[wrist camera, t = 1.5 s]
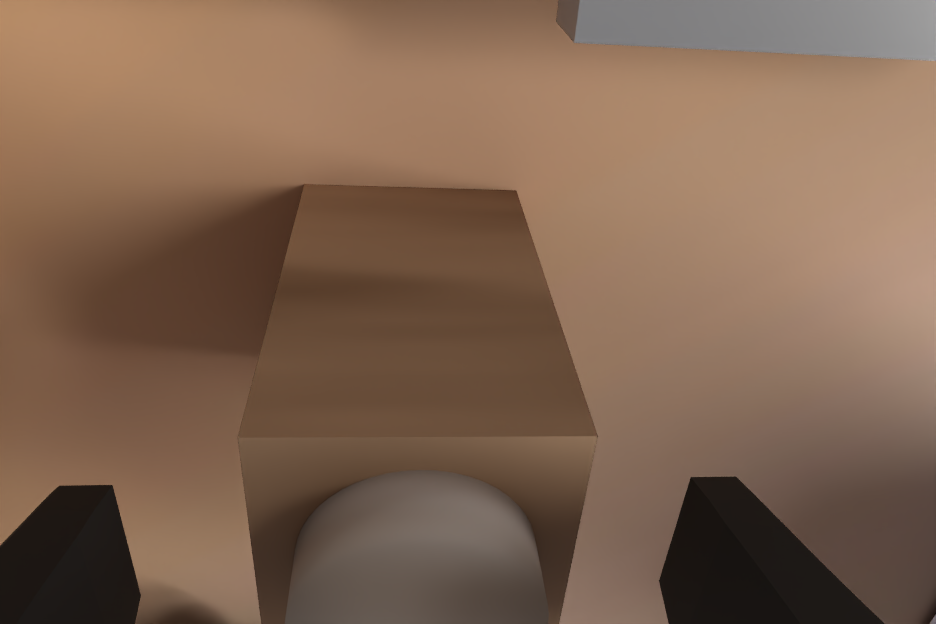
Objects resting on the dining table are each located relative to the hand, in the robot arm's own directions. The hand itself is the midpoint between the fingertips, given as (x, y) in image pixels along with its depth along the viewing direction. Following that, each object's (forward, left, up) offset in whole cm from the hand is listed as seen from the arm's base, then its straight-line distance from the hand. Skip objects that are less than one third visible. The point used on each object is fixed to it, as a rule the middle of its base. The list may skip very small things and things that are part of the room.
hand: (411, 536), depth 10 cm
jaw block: (0, 0, -7) cm, 7 cm away
